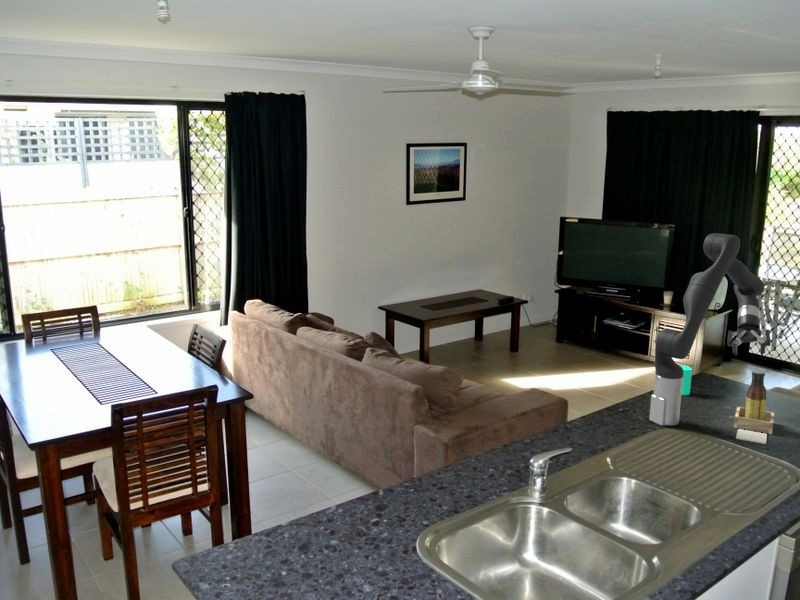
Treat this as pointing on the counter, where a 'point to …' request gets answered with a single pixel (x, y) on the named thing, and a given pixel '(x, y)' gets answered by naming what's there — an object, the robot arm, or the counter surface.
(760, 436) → the coaster mat
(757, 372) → the sauce bottle
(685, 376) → the turquoise rectangular block
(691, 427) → the counter surface
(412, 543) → the counter surface
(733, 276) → the robot arm
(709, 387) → the counter surface
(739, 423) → the wooden tray
